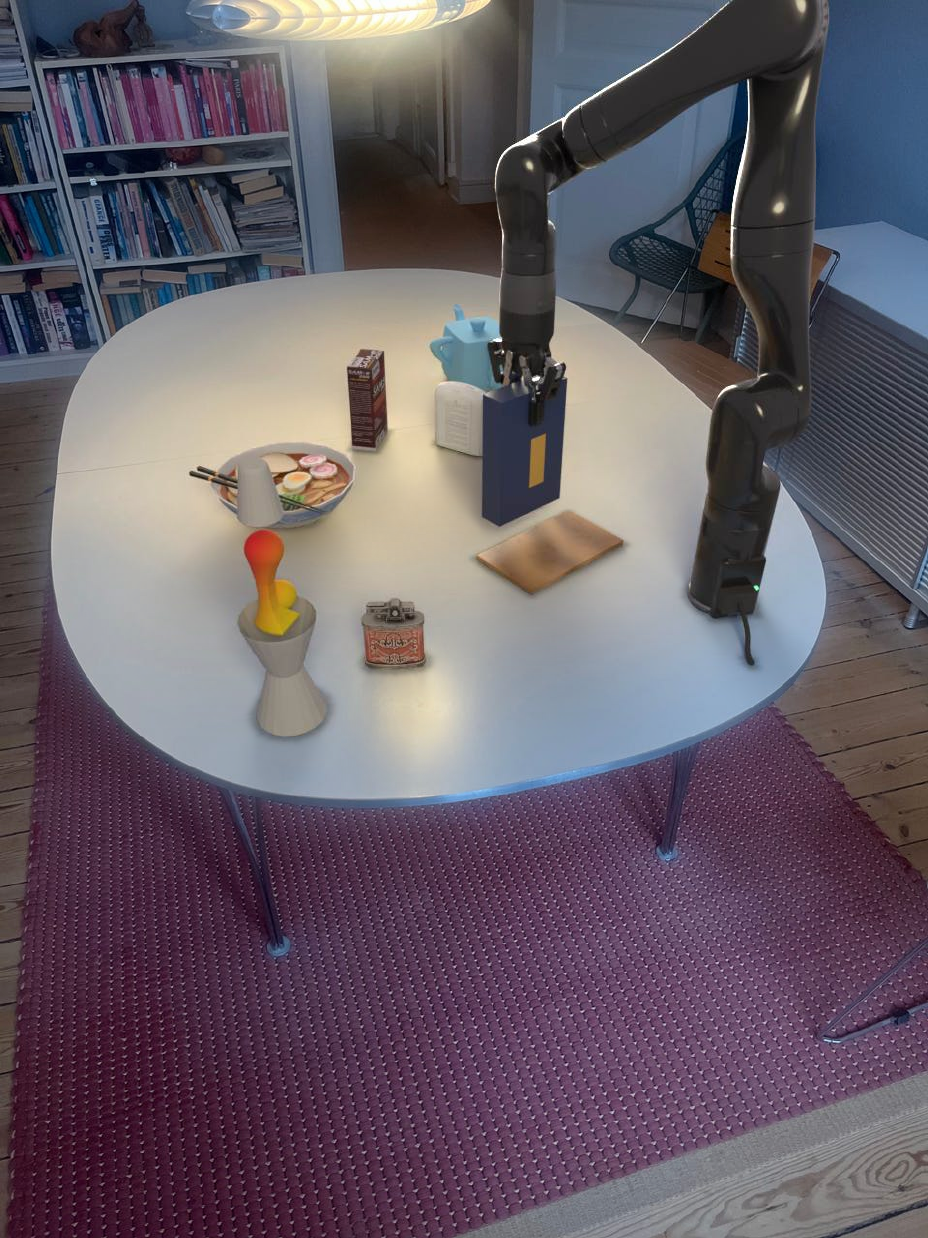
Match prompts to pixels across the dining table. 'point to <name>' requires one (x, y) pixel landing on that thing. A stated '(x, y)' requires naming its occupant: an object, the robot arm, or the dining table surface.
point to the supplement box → (367, 400)
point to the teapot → (468, 350)
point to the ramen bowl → (291, 479)
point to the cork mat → (549, 551)
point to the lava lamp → (275, 613)
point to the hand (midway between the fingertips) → (523, 418)
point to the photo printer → (459, 417)
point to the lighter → (393, 635)
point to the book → (520, 453)
